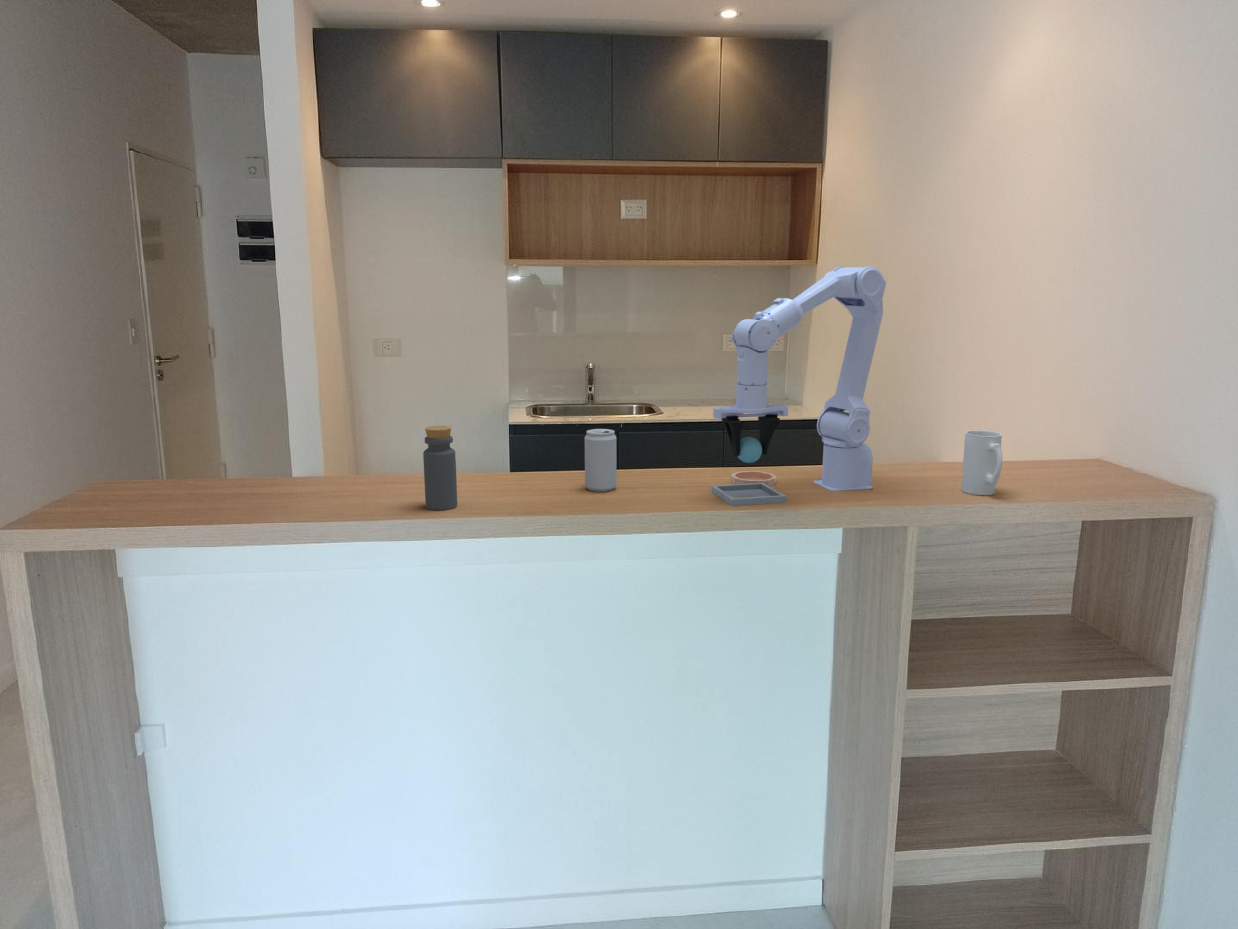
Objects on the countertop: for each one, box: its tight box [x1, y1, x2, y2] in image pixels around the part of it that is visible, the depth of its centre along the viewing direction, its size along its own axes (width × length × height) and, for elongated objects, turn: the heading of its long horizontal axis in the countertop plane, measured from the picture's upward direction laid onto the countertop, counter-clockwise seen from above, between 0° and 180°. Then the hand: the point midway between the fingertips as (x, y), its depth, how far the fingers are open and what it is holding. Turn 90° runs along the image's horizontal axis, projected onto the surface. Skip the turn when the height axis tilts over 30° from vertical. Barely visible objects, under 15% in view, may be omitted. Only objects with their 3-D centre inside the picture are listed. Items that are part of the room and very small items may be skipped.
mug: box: [961, 429, 1003, 496], centre depth 171 cm, size 10×7×12 cm, turn 9°
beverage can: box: [584, 428, 617, 493], centre depth 174 cm, size 6×6×12 cm
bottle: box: [422, 425, 458, 511], centre depth 161 cm, size 6×6×15 cm
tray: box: [710, 483, 787, 507], centre depth 168 cm, size 11×11×2 cm
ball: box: [737, 436, 763, 464], centre depth 166 cm, size 5×5×5 cm
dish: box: [730, 470, 777, 487], centre depth 180 cm, size 9×9×2 cm
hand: (749, 454), depth 166 cm, fingers closed on ball, 5 cm apart
